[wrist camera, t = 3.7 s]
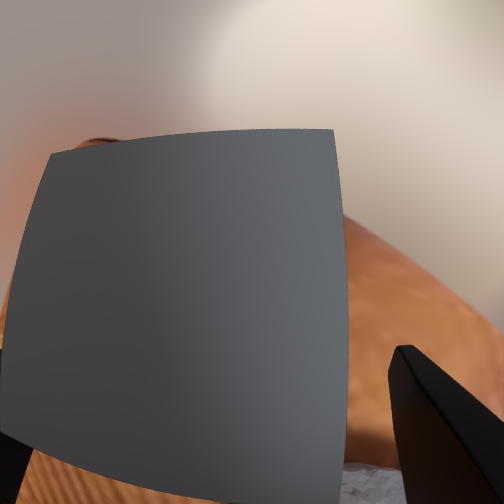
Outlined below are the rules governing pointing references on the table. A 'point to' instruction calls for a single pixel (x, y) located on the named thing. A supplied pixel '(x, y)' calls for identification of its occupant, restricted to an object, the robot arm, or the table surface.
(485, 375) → the table surface
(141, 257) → the pillar
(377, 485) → the stone block
